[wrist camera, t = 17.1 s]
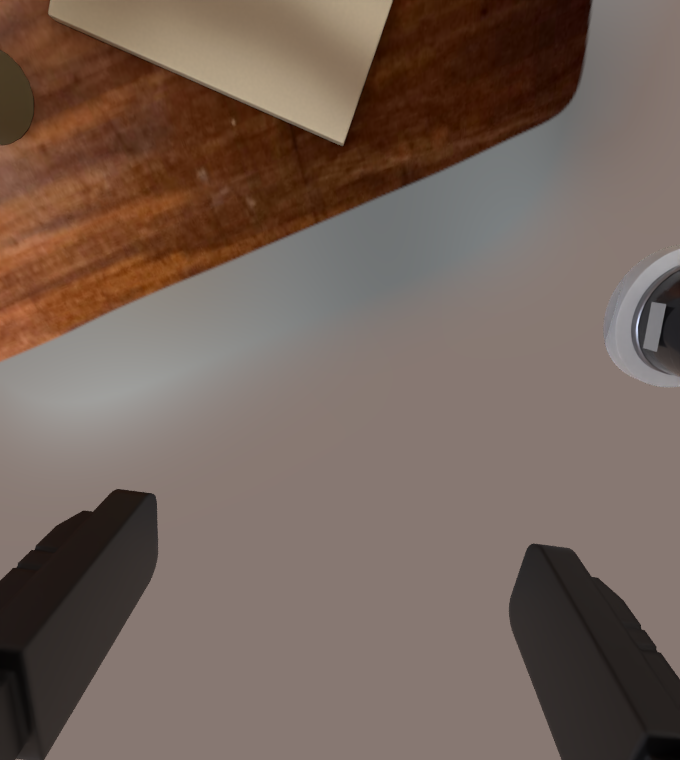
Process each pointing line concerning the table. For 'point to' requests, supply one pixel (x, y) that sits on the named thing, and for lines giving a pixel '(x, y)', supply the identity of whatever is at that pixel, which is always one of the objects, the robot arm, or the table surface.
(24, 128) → the olive pawn
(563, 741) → the robot arm
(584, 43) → the table surface
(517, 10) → the table surface
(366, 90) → the table surface
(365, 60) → the board
